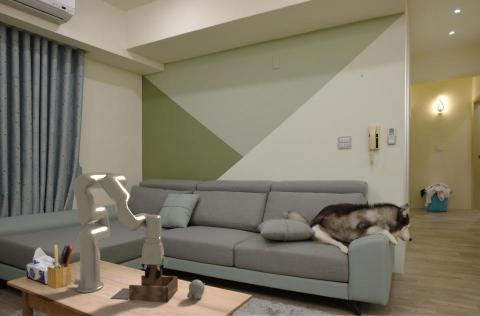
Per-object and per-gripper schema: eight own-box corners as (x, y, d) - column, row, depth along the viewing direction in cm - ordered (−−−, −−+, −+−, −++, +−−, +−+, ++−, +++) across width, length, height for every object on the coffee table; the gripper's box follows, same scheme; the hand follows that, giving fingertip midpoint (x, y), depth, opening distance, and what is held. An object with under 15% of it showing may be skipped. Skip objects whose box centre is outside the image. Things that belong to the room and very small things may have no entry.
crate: (129, 300, 152) (129, 285, 152) (142, 288, 166) (142, 275, 166) (167, 302, 149) (167, 287, 149) (177, 290, 163) (177, 276, 163)
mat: (110, 298, 154) (110, 298, 154) (123, 288, 166) (123, 288, 166) (128, 299, 153) (128, 298, 153) (139, 289, 165) (139, 288, 165)
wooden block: (148, 292, 153) (147, 254, 153) (142, 290, 155) (141, 252, 155) (162, 286, 160) (161, 249, 161) (156, 284, 163) (155, 248, 163)
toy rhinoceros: (208, 300, 157) (211, 281, 160) (197, 300, 147) (201, 280, 150) (195, 297, 160) (198, 279, 163) (184, 297, 149) (187, 278, 152)
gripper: (133, 241, 155) (132, 279, 155) (167, 243, 153) (166, 281, 153) (140, 237, 163) (139, 273, 162) (172, 239, 160) (172, 275, 160)
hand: (152, 276), depth 158 cm, fingers closed on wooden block, 5 cm apart
